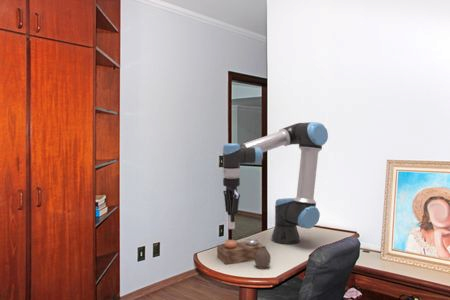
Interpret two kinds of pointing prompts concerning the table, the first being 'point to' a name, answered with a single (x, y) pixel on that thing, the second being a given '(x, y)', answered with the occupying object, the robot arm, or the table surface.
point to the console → (237, 253)
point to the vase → (262, 257)
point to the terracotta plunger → (230, 243)
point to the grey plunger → (251, 242)
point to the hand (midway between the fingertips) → (231, 228)
